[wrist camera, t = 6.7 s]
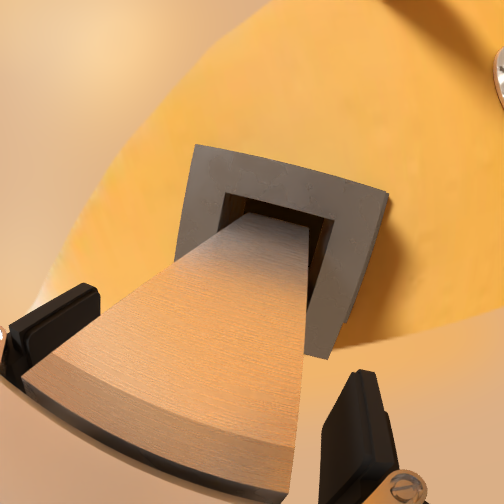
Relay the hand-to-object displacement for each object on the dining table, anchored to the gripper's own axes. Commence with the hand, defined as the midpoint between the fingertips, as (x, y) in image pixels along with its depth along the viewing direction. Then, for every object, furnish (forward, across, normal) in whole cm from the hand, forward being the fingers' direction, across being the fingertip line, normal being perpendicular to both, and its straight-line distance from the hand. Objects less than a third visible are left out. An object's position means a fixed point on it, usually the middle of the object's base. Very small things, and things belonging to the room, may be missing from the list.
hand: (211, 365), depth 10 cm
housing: (+22, 0, 0) cm, 22 cm away
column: (+16, 0, 0) cm, 16 cm away
